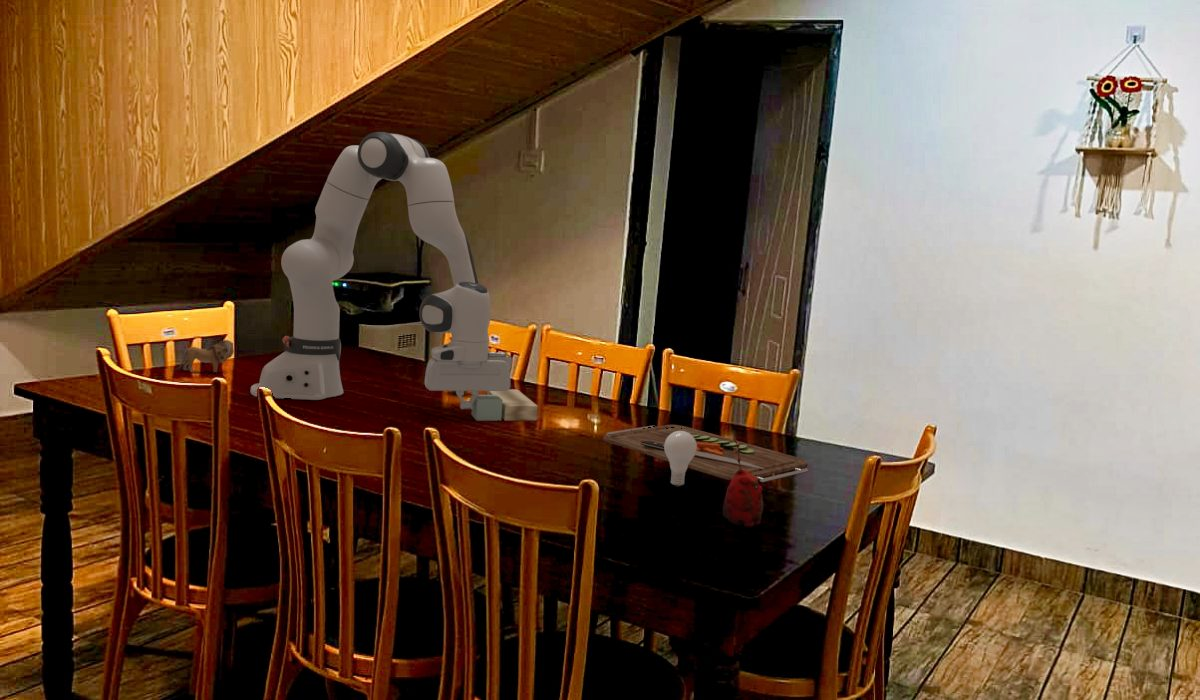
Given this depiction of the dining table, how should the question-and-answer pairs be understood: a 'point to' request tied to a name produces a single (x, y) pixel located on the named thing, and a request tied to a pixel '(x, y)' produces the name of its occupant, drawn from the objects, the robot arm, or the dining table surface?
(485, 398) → the block
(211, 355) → the lion figurine
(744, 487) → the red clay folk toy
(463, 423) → the dining table surface
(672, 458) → the lightbulb
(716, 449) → the chopping board
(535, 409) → the board
